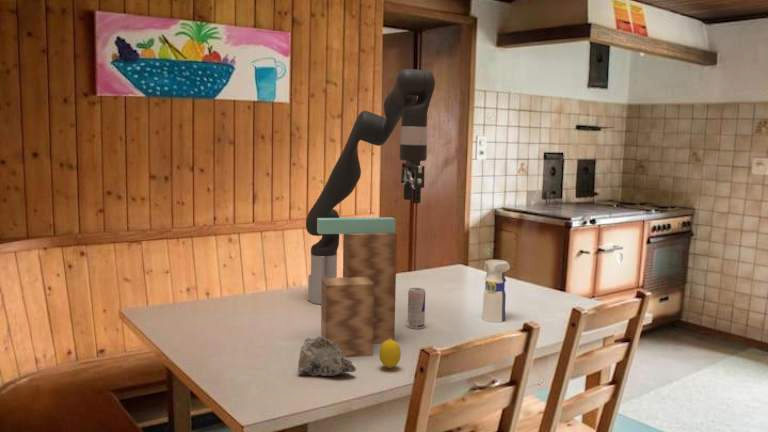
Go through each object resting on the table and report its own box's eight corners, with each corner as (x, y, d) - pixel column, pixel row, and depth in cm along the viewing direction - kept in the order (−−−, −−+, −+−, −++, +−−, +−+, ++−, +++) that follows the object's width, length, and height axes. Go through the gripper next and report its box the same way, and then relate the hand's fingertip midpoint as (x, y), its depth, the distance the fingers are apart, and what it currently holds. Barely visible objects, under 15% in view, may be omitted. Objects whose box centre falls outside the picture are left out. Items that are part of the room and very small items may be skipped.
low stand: (325, 358, 177) (326, 285, 174) (321, 347, 186) (321, 278, 183) (372, 355, 180) (374, 284, 177) (366, 344, 189) (367, 276, 186)
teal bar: (318, 234, 184) (319, 220, 183) (317, 231, 188) (317, 218, 187) (395, 233, 189) (395, 219, 188) (391, 230, 193) (392, 217, 192)
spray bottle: (501, 324, 212) (505, 248, 208) (477, 319, 216) (480, 245, 213) (510, 318, 218) (514, 244, 215) (487, 314, 223) (490, 241, 220)
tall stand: (346, 345, 188) (348, 234, 184) (342, 336, 196) (343, 230, 191) (394, 342, 191) (396, 234, 187) (387, 334, 199) (390, 229, 195)
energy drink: (426, 325, 209) (427, 288, 207) (421, 330, 204) (422, 292, 202) (410, 323, 210) (411, 286, 209) (405, 328, 205) (406, 290, 204)
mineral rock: (358, 377, 164) (358, 338, 163) (324, 388, 156) (325, 348, 155) (325, 363, 173) (325, 326, 172) (292, 373, 166) (292, 335, 164)
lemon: (378, 364, 173) (378, 335, 172) (399, 364, 173) (399, 335, 172) (379, 372, 167) (380, 342, 166) (401, 372, 168) (402, 342, 167)
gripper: (434, 144, 176) (432, 204, 178) (418, 142, 189) (417, 198, 192) (407, 143, 174) (405, 204, 176) (393, 142, 188) (392, 198, 190)
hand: (411, 201), depth 184 cm, fingers open, 8 cm apart
